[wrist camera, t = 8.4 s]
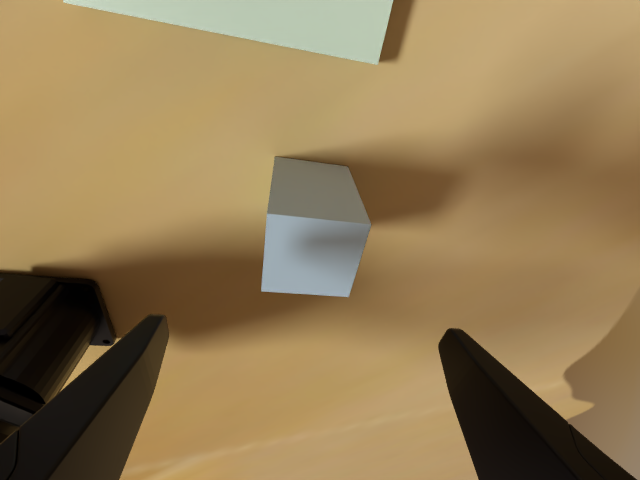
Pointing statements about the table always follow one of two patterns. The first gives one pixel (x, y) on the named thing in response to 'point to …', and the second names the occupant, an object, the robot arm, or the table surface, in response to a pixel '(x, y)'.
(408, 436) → the table surface
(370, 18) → the plate
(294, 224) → the gray block
